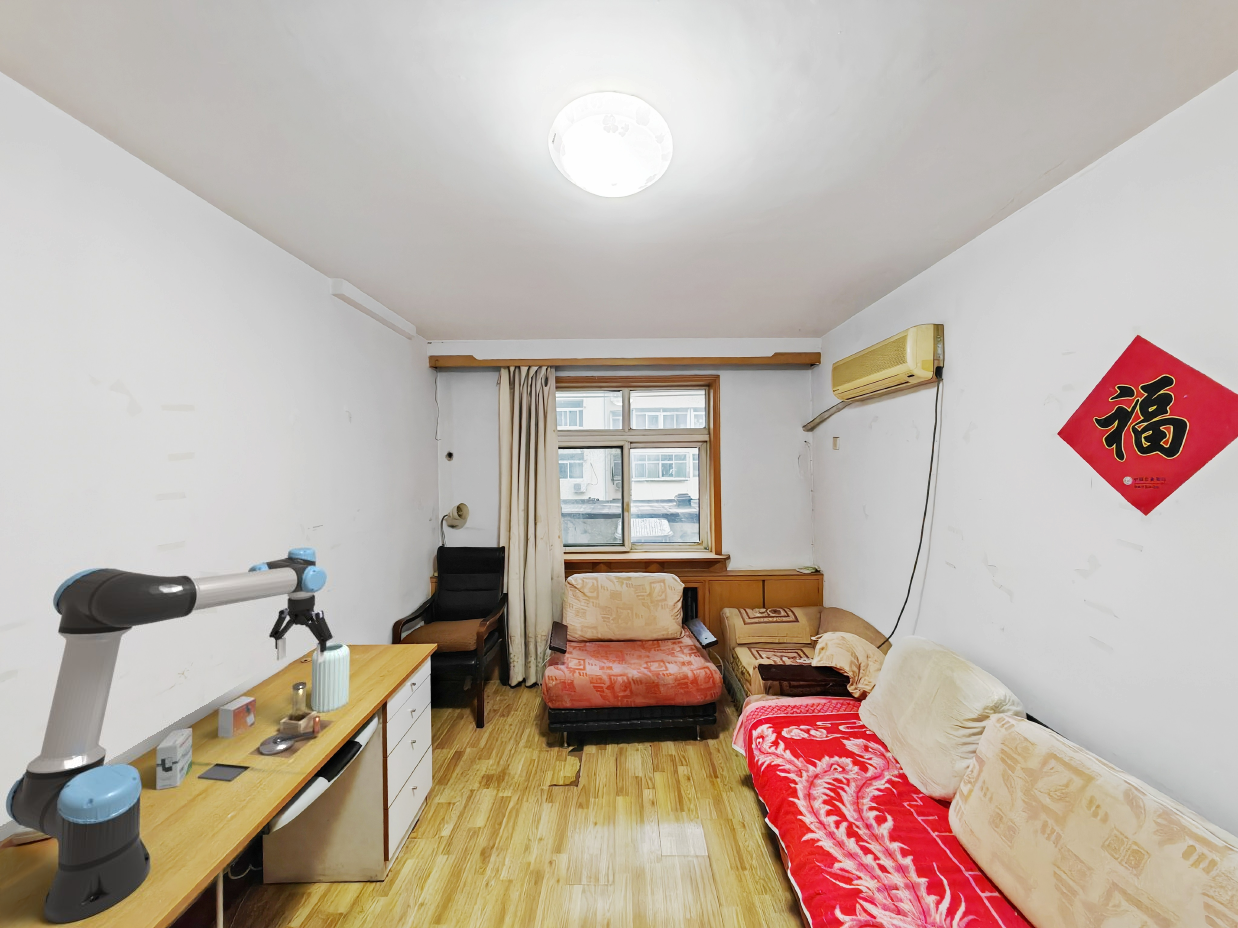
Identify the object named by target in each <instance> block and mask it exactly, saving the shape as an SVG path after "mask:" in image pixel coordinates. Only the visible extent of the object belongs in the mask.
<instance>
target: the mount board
mask: <svg viewBox="0 0 1238 928" xmlns="http://www.w3.org/2000/svg"><path fill="white" fill-rule="evenodd" d="M334 722H335V720H330V719H329V720H328V719H320V733H319V734H317V735H309V736H305V737H300V738H296V739H295V743H294V745H293V746H292V747H290V748H289V749H287V750H285V751H282V752H280V753H276V754H262V753H260V751H259V746H257V747H256V748H255V749H254V750H252V751H251V752H249V753H248V755H252V756H263V757H275V758H284V759H291V757H293V756H294V755H296V754H297V753H298V752H299V751H300V750H301V749H303V748H304V747H305V746H306V745H308V744H309V743H310V742H311V741H312V740H314V739H315V738H316V737H317V736H319V735H320V734H321V733H322V732H324V730H326V729H327V728H329V726H331V724H333V723H334ZM309 731H313V725H312V726H311V727H309V728H308V729H307V730H306V731H304V732H309ZM304 732H303V733H304ZM281 733H282V732H280V731H278V732H277V733H276V734H274V735H277V734H281ZM292 734H293V733H292ZM294 735H295V734H294Z"/></svg>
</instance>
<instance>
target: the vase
mask: <svg viewBox="0 0 1238 928" xmlns="http://www.w3.org/2000/svg"><path fill="white" fill-rule="evenodd" d="M350 653H351V650H350V648H349V646H347V645H346V644H343V643H341V642H331V643H326V651H325V652H324V660H323V661H322V662H320V663H316V650H315V651H314V652H313V654H312V657H311V659H312V660H311V696H310V697H311V701H310V705H311V708H312V711H317V713H327V712H329V713H330V712H334V711H336V710H339V709H340V708H343V707H344V706H346V704H348V702H349V699H350V697H349V696H350V695H349V694H350V660H351V659H350V655H351V654H350Z"/></svg>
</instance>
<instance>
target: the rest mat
mask: <svg viewBox="0 0 1238 928" xmlns="http://www.w3.org/2000/svg"><path fill="white" fill-rule="evenodd" d="M250 768H251V766H248V765H240V764H239V765H237V764H230V763H229V764H227V763H226V764H225V763H218V762H217V763H215V764H214V765H212V766H211V767H209V768H208V769H206V770H205V771H203V772H202V773H200V774H199V775H198V776H197V779H201V780H202V779H204V780H212V781H222V782H232V781H234V780H235V779H236V778H238V777H240V775H242V774H243V773H244V772H246V771H247V770H248V769H250Z"/></svg>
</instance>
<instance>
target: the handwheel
mask: <svg viewBox="0 0 1238 928" xmlns="http://www.w3.org/2000/svg"><path fill="white" fill-rule="evenodd" d="M320 720H321V716H320V715H317V716H315V717H313V731H309V732H304V733H300V734H295V735H294V734H292V733H281V734H277V733H276V734H277V735H275V734H273V735H271V736H269V737H267V738H265V739H263V741H261V742H260V744H259V745H258V747H259V751H260V753H262V754H276V753H280V752H282V751H285V750H287V749H289V748H290V747H292V746H293V745H294V743H295V739H296V738H300V737H305V736H309V735H317V734H318V735H320V734H321V733H320ZM319 733H320V734H319ZM318 735H317V736H318Z"/></svg>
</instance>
